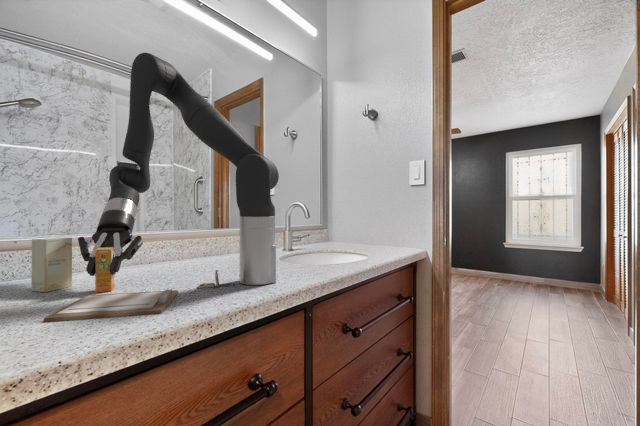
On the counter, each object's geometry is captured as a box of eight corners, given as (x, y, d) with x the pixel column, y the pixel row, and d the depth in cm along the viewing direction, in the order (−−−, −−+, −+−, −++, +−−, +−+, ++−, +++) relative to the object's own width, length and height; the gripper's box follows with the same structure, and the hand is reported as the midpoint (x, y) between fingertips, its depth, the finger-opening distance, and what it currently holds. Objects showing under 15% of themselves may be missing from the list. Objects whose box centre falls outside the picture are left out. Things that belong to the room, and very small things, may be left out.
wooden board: (178, 292, 68) (178, 284, 68) (161, 313, 54) (161, 303, 54) (86, 298, 64) (86, 289, 64) (43, 321, 50) (43, 311, 50)
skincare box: (45, 292, 68) (45, 239, 68) (30, 291, 69) (30, 239, 69) (73, 286, 74) (73, 237, 74) (59, 285, 75) (58, 236, 75)
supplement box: (94, 293, 67) (93, 249, 67) (98, 289, 71) (98, 247, 71) (111, 291, 69) (111, 248, 69) (115, 288, 72) (114, 246, 72)
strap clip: (197, 290, 71) (197, 272, 71) (198, 287, 74) (198, 270, 74) (234, 288, 74) (234, 270, 74) (234, 285, 77) (234, 268, 76)
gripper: (82, 208, 74) (57, 265, 63) (146, 208, 79) (134, 261, 68) (90, 228, 79) (69, 284, 68) (150, 227, 84) (140, 280, 73)
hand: (102, 273), depth 68 cm, fingers closed on supplement box, 3 cm apart
